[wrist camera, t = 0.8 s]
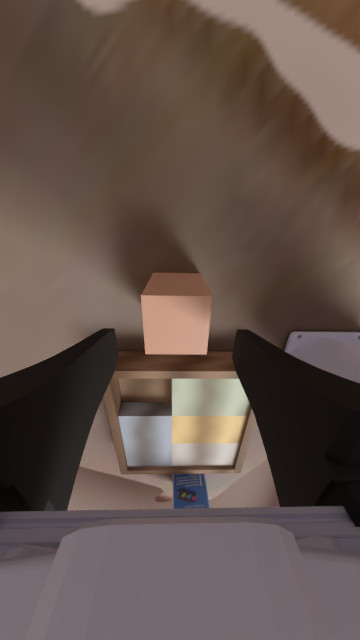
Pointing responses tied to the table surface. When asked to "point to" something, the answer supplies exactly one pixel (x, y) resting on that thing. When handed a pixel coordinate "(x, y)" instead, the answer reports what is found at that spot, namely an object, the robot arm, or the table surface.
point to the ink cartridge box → (190, 491)
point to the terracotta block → (176, 314)
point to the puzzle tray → (158, 388)
